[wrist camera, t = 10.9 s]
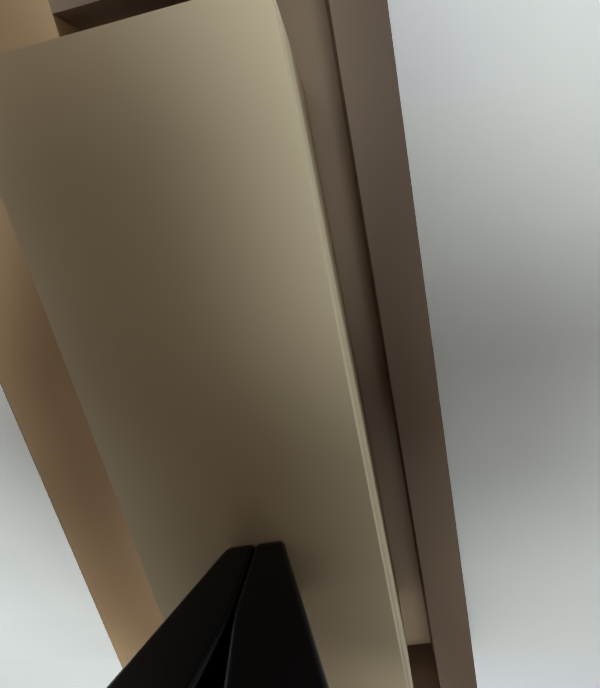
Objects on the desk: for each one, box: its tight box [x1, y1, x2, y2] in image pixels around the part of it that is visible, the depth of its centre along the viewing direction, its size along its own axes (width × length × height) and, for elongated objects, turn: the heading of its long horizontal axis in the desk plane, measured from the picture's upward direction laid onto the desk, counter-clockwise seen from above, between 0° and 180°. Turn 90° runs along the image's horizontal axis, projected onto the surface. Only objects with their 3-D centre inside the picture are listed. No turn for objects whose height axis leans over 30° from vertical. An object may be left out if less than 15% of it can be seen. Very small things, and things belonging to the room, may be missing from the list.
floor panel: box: [0, 0, 477, 688], centre depth 13 cm, size 10×22×2 cm, turn 12°
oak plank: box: [0, 0, 413, 688], centre depth 10 cm, size 4×14×6 cm, turn 12°
